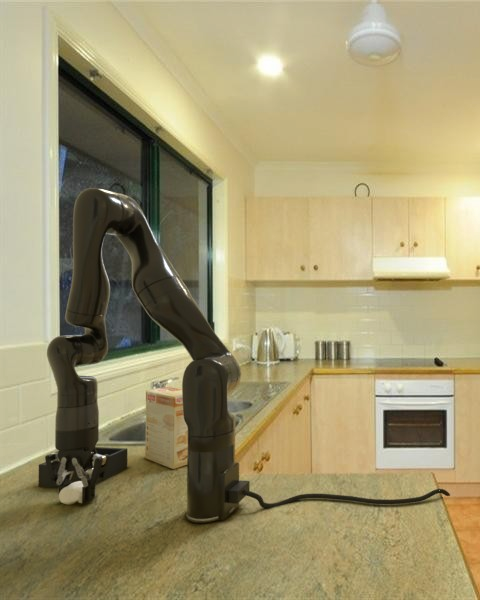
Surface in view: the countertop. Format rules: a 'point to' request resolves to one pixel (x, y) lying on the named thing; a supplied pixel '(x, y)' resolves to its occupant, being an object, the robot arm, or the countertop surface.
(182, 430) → the coffeecake box
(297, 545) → the countertop surface
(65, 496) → the dumpling
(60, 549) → the countertop surface
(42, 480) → the basin
